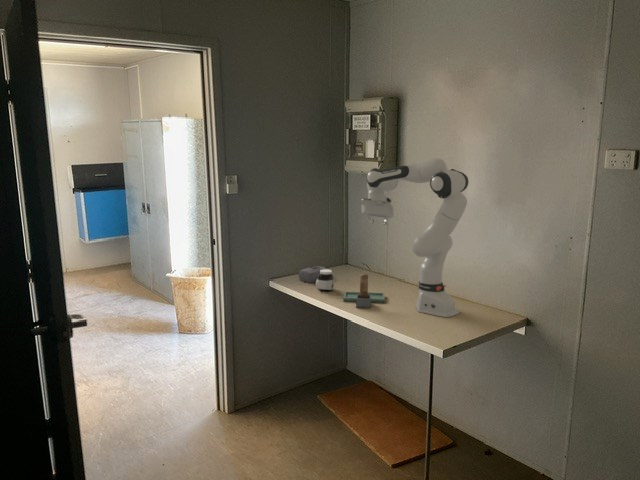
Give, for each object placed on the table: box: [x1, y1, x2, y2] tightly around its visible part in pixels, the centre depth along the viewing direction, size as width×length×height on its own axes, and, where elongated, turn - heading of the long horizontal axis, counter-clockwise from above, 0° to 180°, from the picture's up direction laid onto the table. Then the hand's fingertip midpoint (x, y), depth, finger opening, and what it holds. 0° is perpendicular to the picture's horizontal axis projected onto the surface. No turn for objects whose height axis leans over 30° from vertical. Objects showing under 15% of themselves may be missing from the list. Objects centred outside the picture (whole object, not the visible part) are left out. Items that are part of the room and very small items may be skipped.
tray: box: [342, 291, 386, 304], centre depth 279 cm, size 22×12×2 cm, turn 84°
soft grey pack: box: [298, 265, 328, 284], centre depth 318 cm, size 15×8×20 cm
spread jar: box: [315, 268, 335, 293], centre depth 296 cm, size 12×11×12 cm
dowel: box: [359, 273, 369, 298], centre depth 265 cm, size 4×4×16 cm
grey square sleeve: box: [355, 294, 372, 309], centre depth 267 cm, size 8×8×5 cm
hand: (378, 224), depth 276 cm, fingers open, 8 cm apart
